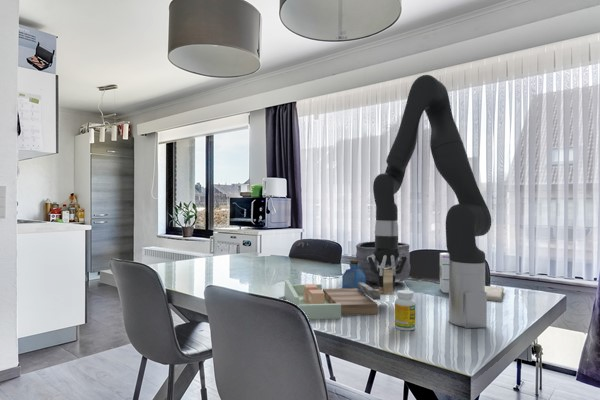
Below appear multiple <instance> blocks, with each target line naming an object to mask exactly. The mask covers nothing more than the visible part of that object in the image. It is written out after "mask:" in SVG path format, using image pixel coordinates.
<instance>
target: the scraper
mask: <svg viewBox="0 0 600 400" xmlns="http://www.w3.org/2000/svg"><path fill="white" fill-rule="evenodd" d="M382 276H383V287H379V286H378V287H379V288H377V289H376V288H375V289H374V288H373V287H371V286H370V285H368V284H365V283H358V289H360V290H361V291H362V292H364V295H366V296H367V297H368V298H370V299H371V300H373V301H379V300H380V301H381V295H383V296H385V295H386V296H389V295H390V296H391V295H393V292H394V291H393V290H394V289H393V288H394V286H393V270H392V269H389V268H384V270H383V275H382Z"/></svg>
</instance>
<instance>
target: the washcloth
mask: <svg viewBox="0 0 600 400" xmlns="http://www.w3.org/2000/svg"><path fill="white" fill-rule="evenodd" d="M504 291H505V288H504V287H502V286H489V285H485V292H486V293H487V301H491V302H499V303H501V302H503V295H504Z"/></svg>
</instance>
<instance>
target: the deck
mask: <svg viewBox="0 0 600 400" xmlns="http://www.w3.org/2000/svg"><path fill="white" fill-rule="evenodd" d="M322 291H323V292H324V298H325V299H326V300H327V301H328V302H329V303H330V304H338V303H340V304H341V316H358V315H359V316H360V315H361V316H363V315H367V316H368V315H378V304H377V302H375V300H373V299H372V298H371V297H369V296H368V295H366V294H365V293H364V294H363V293H362V292H360V291H359V290H358V289H356V288H342V287H341V288H322Z"/></svg>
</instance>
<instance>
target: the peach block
mask: <svg viewBox="0 0 600 400" xmlns="http://www.w3.org/2000/svg"><path fill="white" fill-rule="evenodd" d="M309 304H324V292H323V289H322V290H309Z"/></svg>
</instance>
